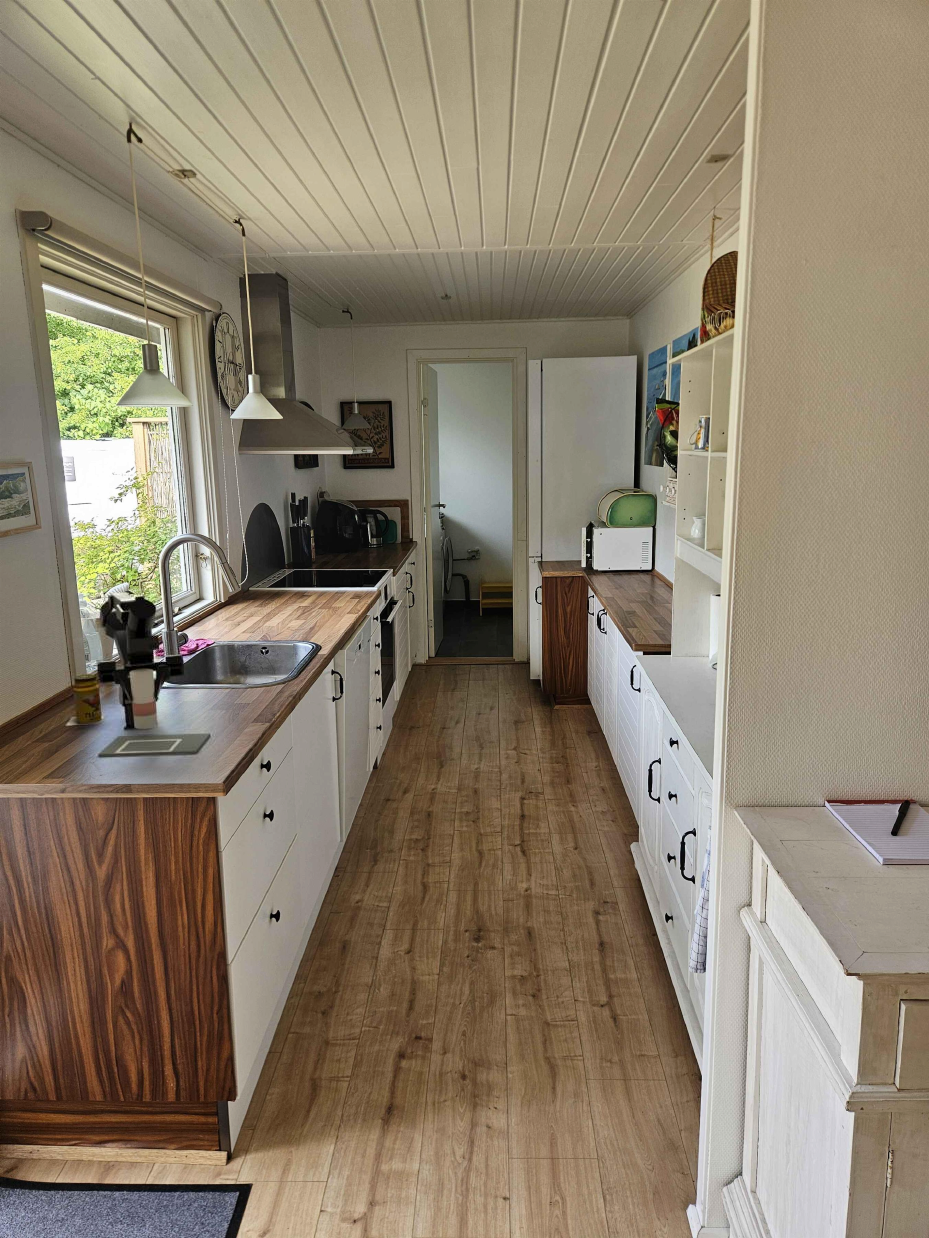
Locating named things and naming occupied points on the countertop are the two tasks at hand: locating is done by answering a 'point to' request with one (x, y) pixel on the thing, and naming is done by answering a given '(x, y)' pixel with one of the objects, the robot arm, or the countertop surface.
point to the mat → (155, 745)
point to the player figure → (143, 698)
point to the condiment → (86, 701)
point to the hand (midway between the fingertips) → (143, 699)
